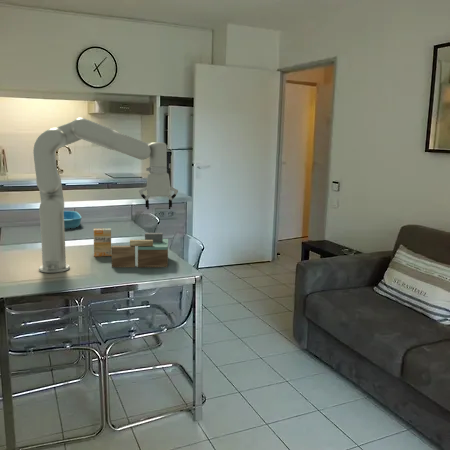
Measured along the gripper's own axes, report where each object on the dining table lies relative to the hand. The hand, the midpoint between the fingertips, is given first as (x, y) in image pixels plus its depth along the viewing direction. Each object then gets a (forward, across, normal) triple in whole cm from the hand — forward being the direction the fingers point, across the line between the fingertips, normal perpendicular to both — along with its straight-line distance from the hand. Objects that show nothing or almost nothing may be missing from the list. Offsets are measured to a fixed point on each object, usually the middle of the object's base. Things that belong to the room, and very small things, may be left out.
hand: (158, 208), depth 219 cm
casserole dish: (+25, -63, +101) cm, 122 cm away
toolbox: (+25, -9, +3) cm, 27 cm away
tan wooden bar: (+16, -8, -4) cm, 18 cm away
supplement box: (+25, -28, +18) cm, 41 cm away
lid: (+17, -3, +3) cm, 18 cm away
